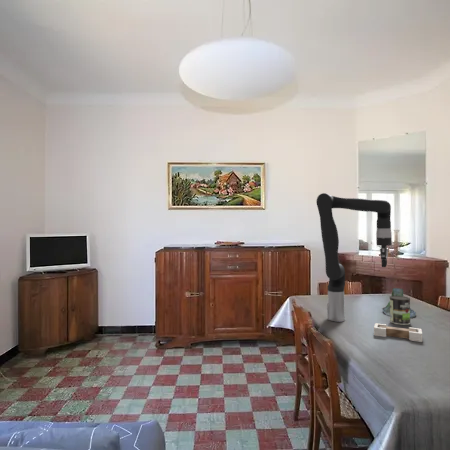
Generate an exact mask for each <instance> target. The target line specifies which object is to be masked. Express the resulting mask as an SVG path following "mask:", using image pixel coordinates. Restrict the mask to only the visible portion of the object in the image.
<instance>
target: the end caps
mask: <svg viewBox="0 0 450 450" xmlns="http://www.w3.org/2000/svg"><path fill="white" fill-rule="evenodd" d="M380 326H387V324H386V323H377V322H376V323H374V326H373V336H376V337H384V338H387V336H386V328H380ZM408 329H412V330H416V332H412V331H409V339H408V340H409V341H413V342H419V343H423V330H422V328H418V327H417V328H416V327H409V326H408Z"/></svg>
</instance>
